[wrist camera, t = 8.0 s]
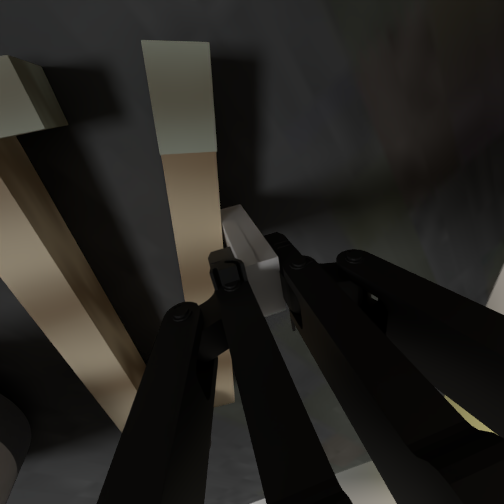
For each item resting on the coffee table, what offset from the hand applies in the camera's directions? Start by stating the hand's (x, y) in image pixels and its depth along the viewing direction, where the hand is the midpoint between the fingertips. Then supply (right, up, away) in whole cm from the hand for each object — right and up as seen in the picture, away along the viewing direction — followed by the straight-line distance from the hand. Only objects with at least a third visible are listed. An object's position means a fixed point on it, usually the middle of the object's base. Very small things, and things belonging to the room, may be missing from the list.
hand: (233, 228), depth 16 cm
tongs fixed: (-8, -4, +1) cm, 9 cm away
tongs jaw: (-2, -2, +2) cm, 3 cm away
